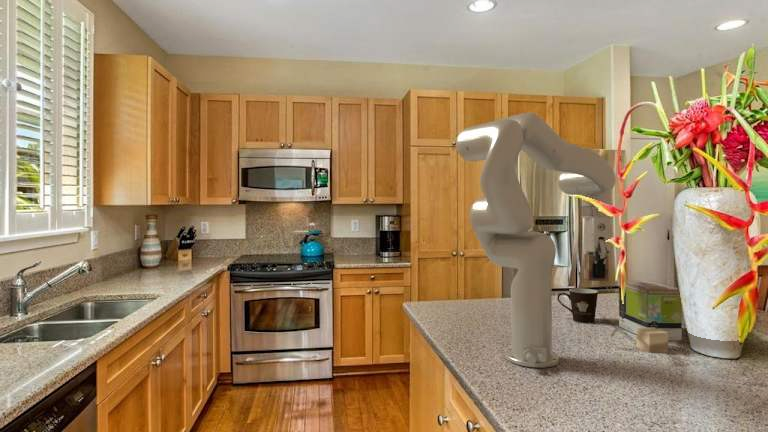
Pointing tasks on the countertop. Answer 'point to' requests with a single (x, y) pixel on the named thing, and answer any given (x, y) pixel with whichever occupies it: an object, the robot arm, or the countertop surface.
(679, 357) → the countertop surface
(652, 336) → the beech block
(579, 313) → the coffee mug
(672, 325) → the tea box
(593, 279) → the walnut block
